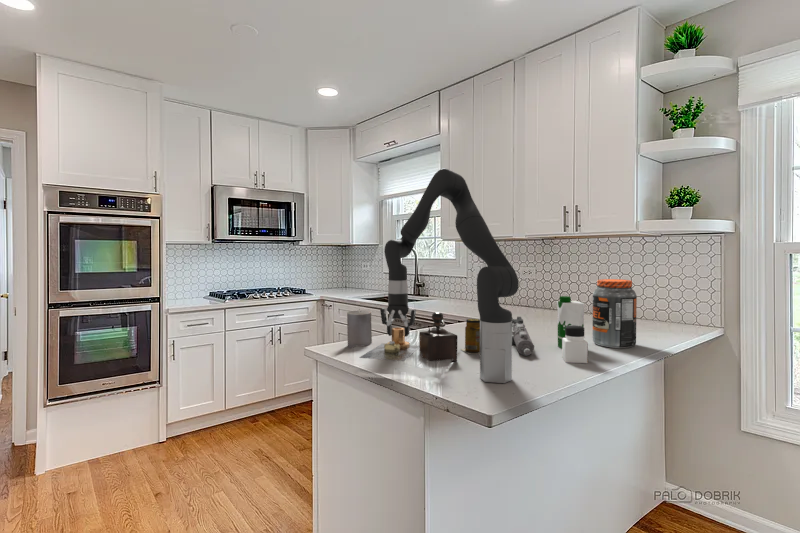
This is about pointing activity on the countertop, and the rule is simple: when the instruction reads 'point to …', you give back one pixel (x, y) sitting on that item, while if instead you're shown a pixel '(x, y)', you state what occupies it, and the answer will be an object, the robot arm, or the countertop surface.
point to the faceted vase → (400, 337)
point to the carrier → (390, 352)
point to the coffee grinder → (438, 342)
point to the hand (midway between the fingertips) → (398, 335)
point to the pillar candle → (359, 328)
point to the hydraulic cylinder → (521, 337)
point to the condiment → (472, 336)
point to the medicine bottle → (574, 345)
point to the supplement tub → (614, 313)
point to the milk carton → (568, 315)
